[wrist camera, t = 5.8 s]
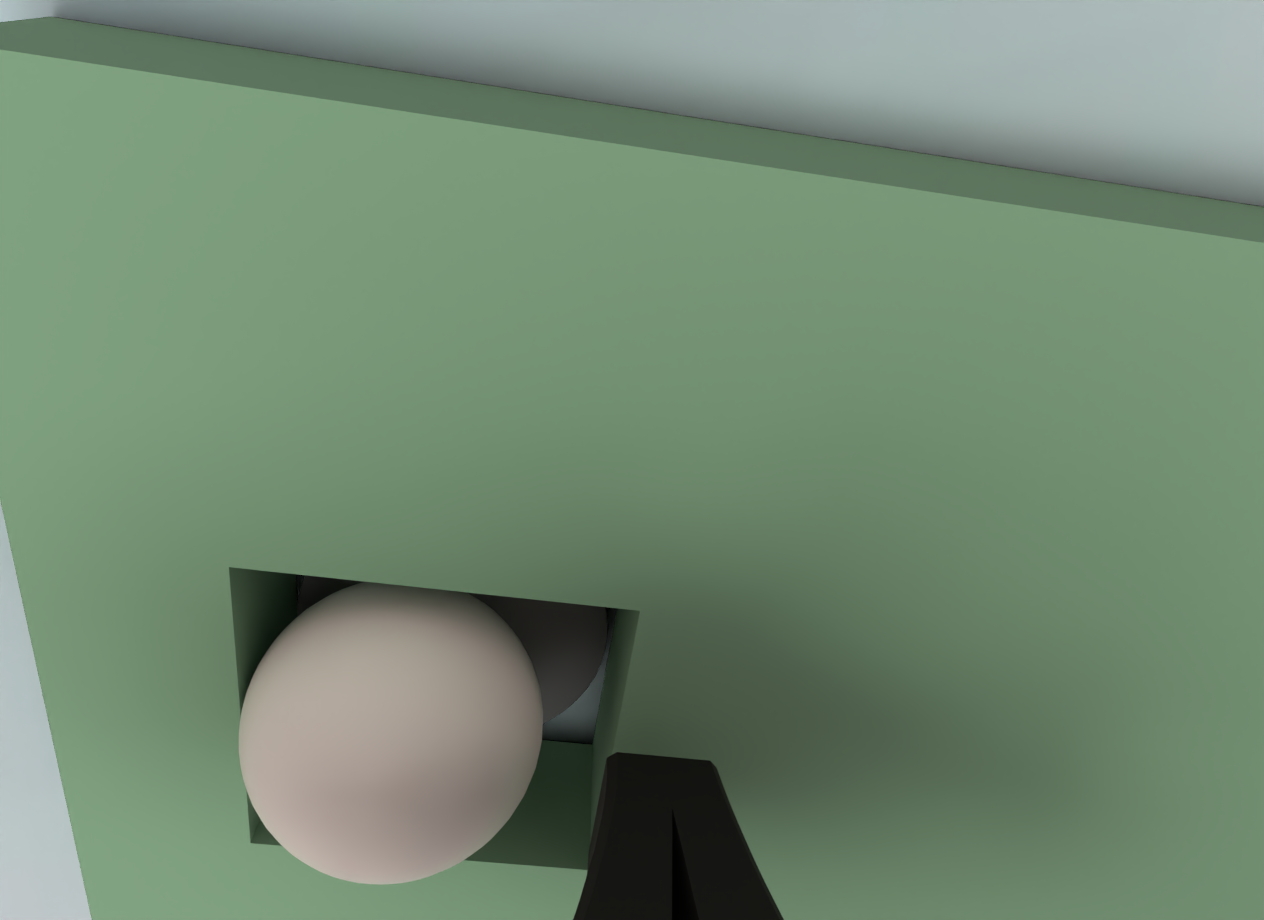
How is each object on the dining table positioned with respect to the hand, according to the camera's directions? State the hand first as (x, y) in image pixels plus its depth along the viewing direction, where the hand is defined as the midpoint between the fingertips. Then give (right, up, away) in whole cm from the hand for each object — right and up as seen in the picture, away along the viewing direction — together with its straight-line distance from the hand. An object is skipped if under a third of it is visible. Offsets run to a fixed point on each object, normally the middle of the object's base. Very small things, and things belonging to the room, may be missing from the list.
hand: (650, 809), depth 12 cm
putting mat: (+2, +1, +3) cm, 4 cm away
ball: (-3, +1, +1) cm, 4 cm away
